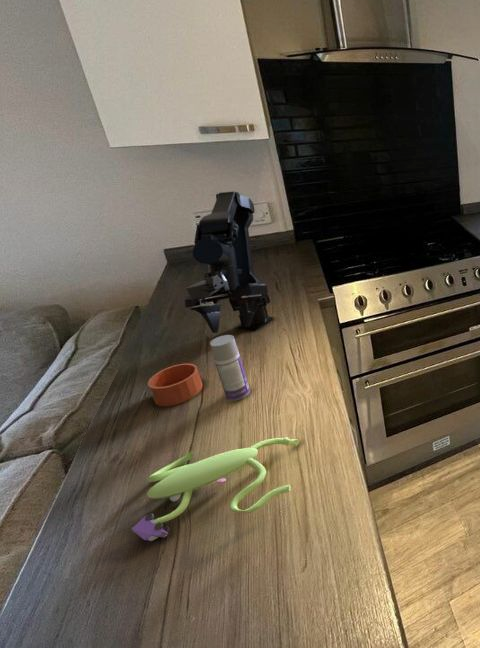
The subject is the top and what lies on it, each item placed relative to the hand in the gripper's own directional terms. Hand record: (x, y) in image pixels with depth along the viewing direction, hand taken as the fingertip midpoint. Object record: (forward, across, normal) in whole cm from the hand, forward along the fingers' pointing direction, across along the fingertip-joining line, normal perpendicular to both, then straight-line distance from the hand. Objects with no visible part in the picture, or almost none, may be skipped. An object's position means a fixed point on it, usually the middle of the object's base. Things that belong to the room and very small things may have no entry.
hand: (231, 329), depth 107 cm
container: (+16, +2, -3) cm, 16 cm away
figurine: (+29, +18, -23) cm, 41 cm away
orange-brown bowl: (+12, -11, -5) cm, 18 cm away
